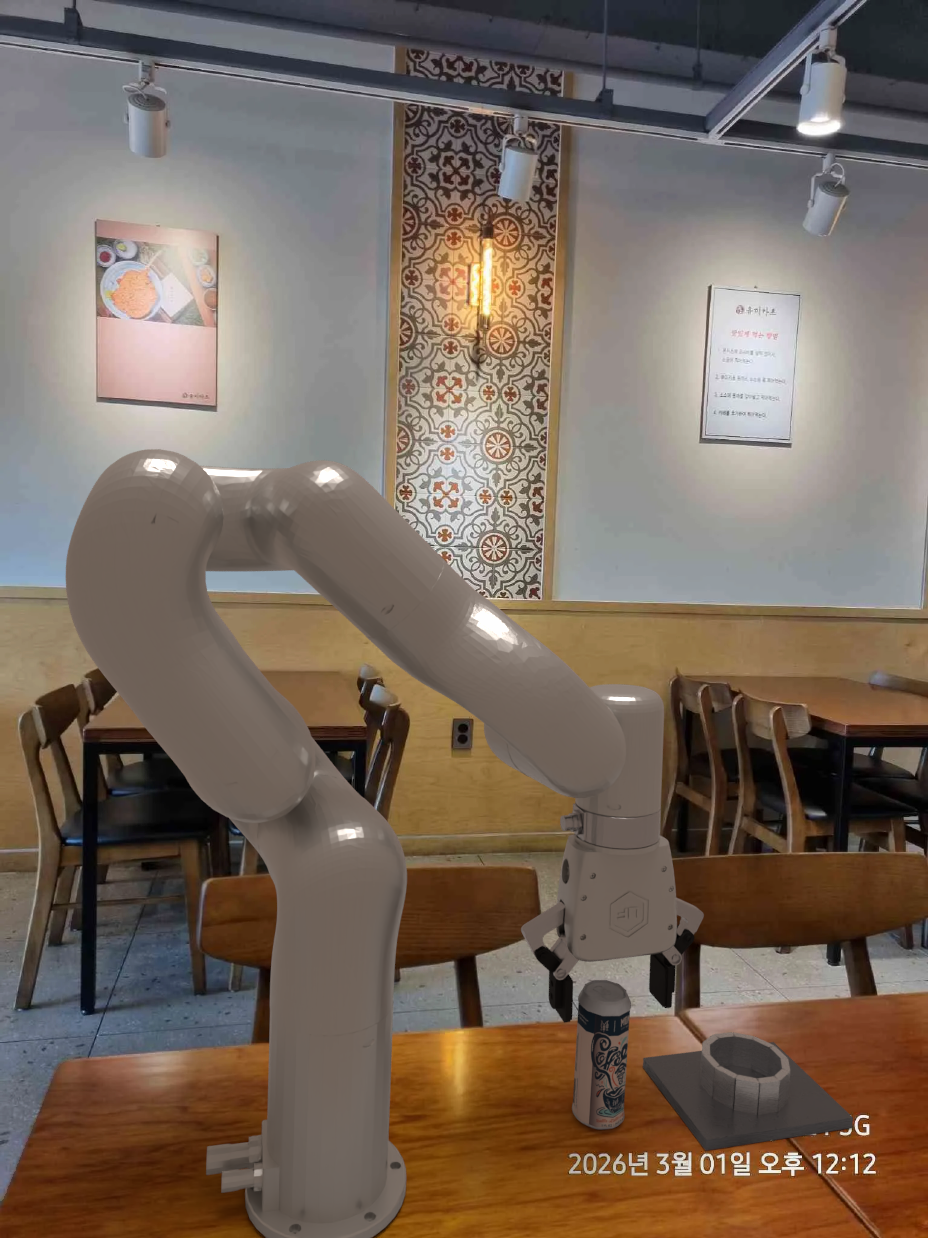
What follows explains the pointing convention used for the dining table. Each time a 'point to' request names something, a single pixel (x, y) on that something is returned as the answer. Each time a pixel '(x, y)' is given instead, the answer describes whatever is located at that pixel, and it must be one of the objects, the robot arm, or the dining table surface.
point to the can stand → (744, 1093)
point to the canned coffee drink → (601, 1054)
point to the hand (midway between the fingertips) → (611, 1007)
